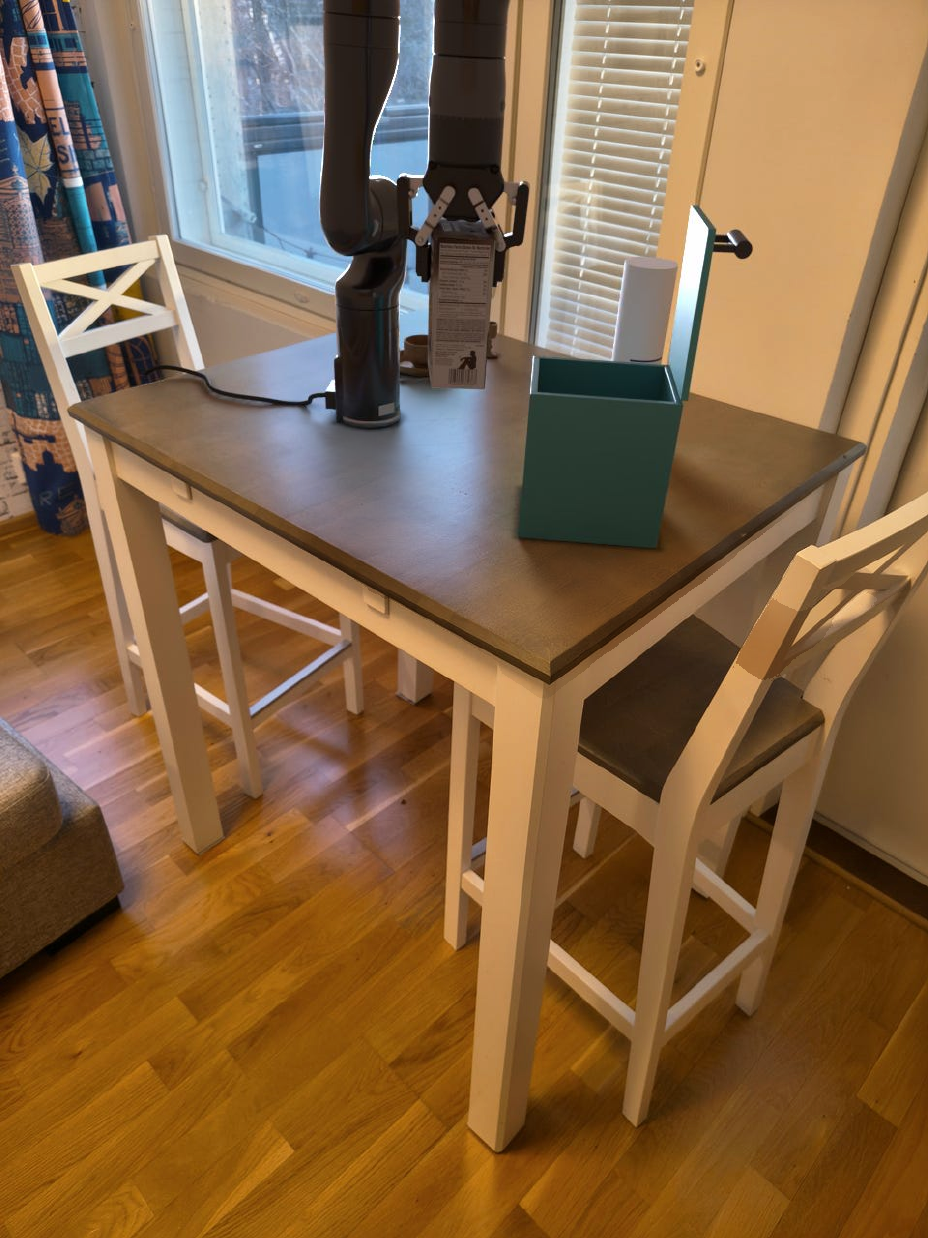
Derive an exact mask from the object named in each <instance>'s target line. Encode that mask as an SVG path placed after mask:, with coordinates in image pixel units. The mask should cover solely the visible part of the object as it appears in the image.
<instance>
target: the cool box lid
mask: <svg viewBox="0 0 928 1238" xmlns="http://www.w3.org/2000/svg"><path fill="white" fill-rule="evenodd" d="M753 251H754V246H753V244H752V243H751V241H750V240H749V239H748V238H747V237H746V236H745V234H744V233H743V232H742V231H741V230H740V229H736V228H735V229H732V230H730V231H729V232H727V234H717V228H716V227H715V225H714V224H713V223H712V222H711V220H710V219H709V218H708V216H707V214H705V212H704V211H703V210H702V208H701V207H700V206H699V205H693V204H692V205H690V211H689V219H688V226H687V232H686V239H685V246H684V252H683V258H682V259H683V260H682V267H681V271H680V272H681V273H680V278H679V279H680V280H679V286H678V293H677V299H676V306H675V312H674V320H673V327H672V333H671V340H670V346H669V352H668V359H667V361H668V365H670V368H671V371H672V374H673V378H674V381H675V384H676V387H677V390H678V394H679V397H680V400H681V401H682V402H689V398H690V392H691V385H692V381H693V380H692V379H693V374H694V369H695V363H696V362H695V361H696V355H697V350H698V344H699V338H700V332H701V325H702V320H703V313H704V308H705V301H706V296H707V290H708V284H709V279H710V278H709V277H710V272H711V265H712V259H713V253H724V254H734V255H735V257H736V258H737V259H739V260H746V259H748V258H749V257H750V256H751V255H752V253H753Z"/></svg>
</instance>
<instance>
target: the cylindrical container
mask: <svg viewBox="0 0 928 1238" xmlns="http://www.w3.org/2000/svg"><path fill="white" fill-rule="evenodd" d="M678 269H679V264H678V263H677V262H675V261H674V260H671V259H666V258H662V257H654V256H632V257H628V258H625V259H624V264H623V272H622V279H621V287H620V294H619V300H618V307H617V308H618V309H617V315H616V317H617V318H616V323H615V330H614V337H613V346H612V352H611V359H610V361H619V362H634V363H648V364H662V363H663V356H664V351H665V345H666V339H667V334H668V327H669V321H670V316H671V310H672V303H673V298H674V292H675V285H676V280H677V275H678Z"/></svg>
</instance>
